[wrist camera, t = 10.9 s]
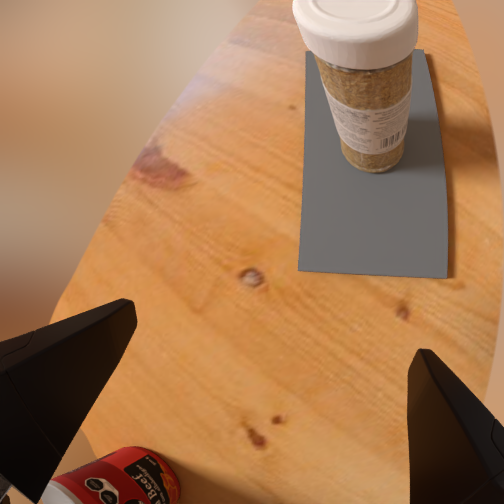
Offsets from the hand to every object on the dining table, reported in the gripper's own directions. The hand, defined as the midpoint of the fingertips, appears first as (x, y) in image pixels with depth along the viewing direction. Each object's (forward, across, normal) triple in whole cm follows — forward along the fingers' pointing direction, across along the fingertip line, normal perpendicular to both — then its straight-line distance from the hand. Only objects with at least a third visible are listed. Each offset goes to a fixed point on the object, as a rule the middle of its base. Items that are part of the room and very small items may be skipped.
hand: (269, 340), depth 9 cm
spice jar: (+16, -4, -5) cm, 17 cm away
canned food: (+4, +10, +25) cm, 27 cm away
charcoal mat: (+16, -4, -5) cm, 17 cm away
